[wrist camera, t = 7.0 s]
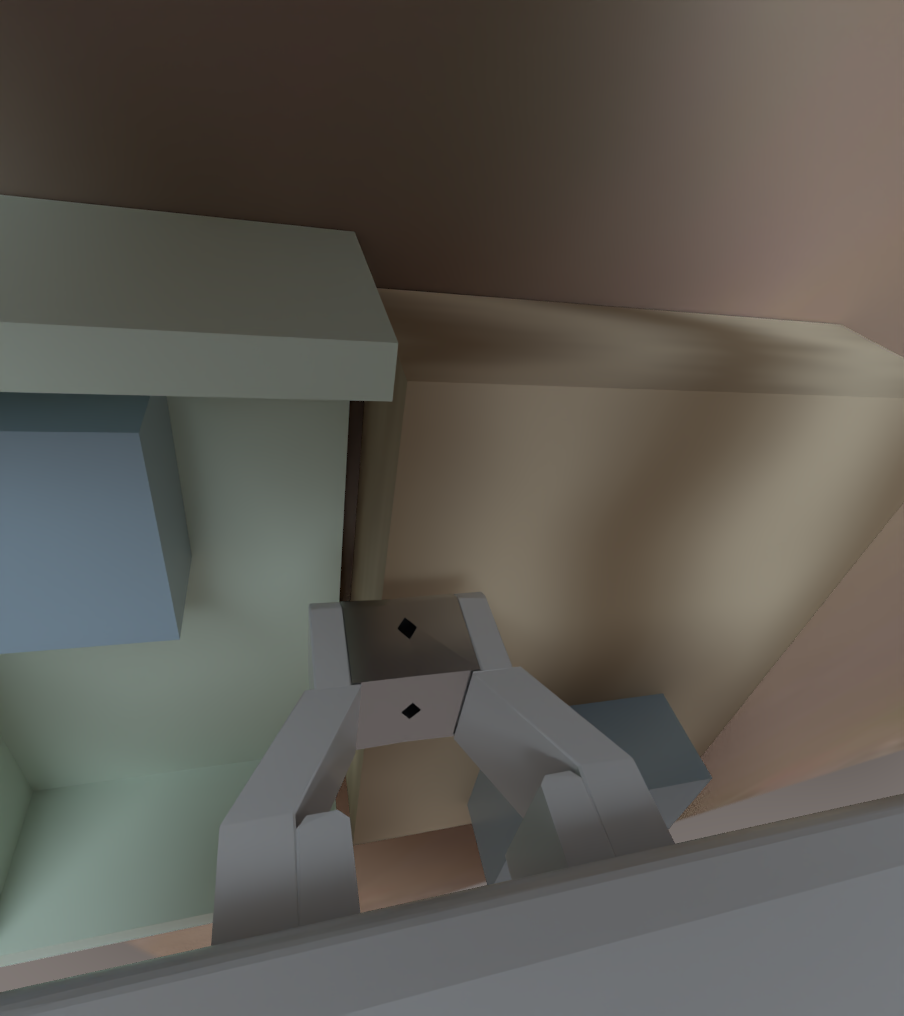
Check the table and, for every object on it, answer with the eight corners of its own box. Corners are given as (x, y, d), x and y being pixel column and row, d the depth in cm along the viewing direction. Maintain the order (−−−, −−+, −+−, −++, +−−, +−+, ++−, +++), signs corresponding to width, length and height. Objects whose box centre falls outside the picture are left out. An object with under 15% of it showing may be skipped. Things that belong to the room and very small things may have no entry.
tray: (354, 231, 11) (398, 343, 7) (329, 745, 22) (341, 895, 18) (-374, 155, 8) (-932, 272, 4) (17, 788, 19) (-45, 977, 15)
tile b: (662, 693, 17) (712, 778, 15) (608, 779, 20) (642, 859, 18) (499, 715, 15) (530, 811, 13) (467, 804, 18) (489, 893, 16)
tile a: (-285, 428, 8) (-175, 348, 10) (-117, 663, 11) (-60, 567, 13) (139, 432, 9) (160, 362, 11) (179, 639, 12) (192, 556, 14)
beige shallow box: (840, 324, 15) (984, 401, 12) (629, 692, 25) (678, 785, 22) (371, 287, 12) (407, 381, 9) (341, 729, 21) (352, 845, 18)
